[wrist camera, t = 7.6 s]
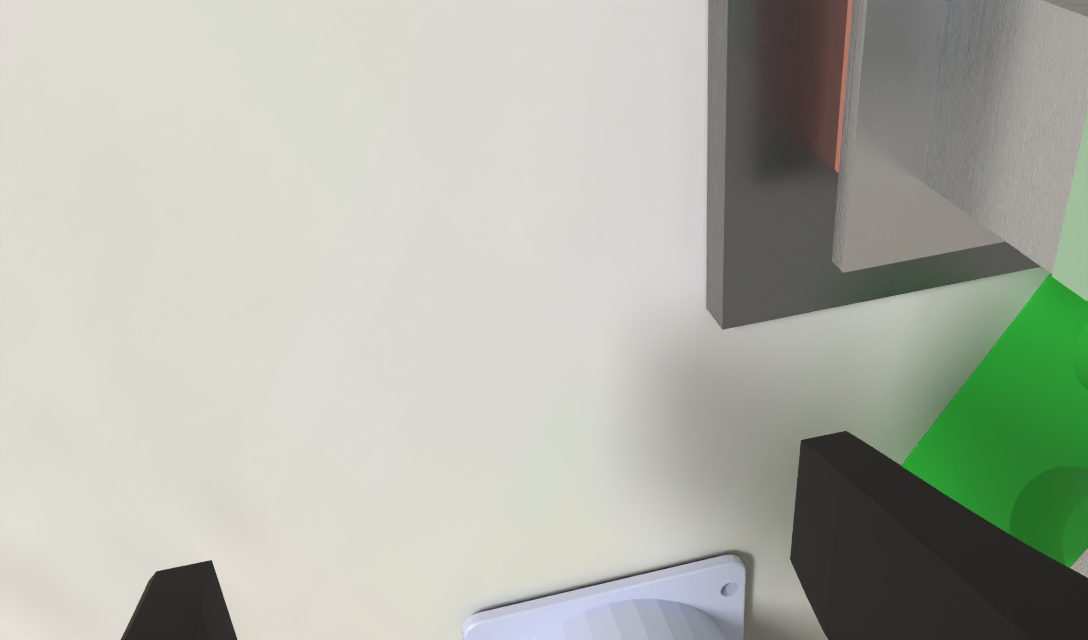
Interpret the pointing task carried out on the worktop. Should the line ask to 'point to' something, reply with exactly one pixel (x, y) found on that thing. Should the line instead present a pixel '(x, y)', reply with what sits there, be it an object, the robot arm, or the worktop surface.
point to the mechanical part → (1022, 430)
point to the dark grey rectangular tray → (829, 160)
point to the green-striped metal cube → (1017, 127)
